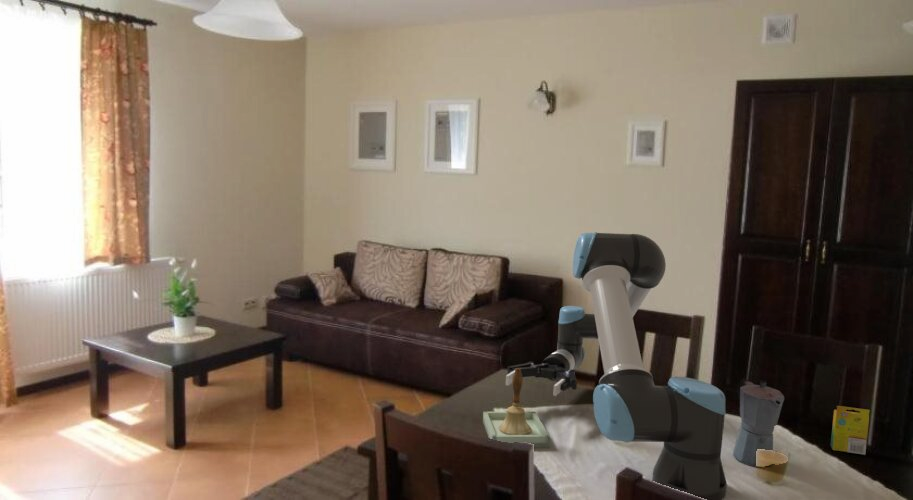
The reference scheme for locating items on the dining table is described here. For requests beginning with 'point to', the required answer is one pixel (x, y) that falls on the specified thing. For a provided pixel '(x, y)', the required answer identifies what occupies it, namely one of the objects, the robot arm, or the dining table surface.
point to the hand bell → (515, 411)
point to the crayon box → (850, 430)
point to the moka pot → (756, 419)
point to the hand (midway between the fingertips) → (530, 385)
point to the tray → (535, 437)
